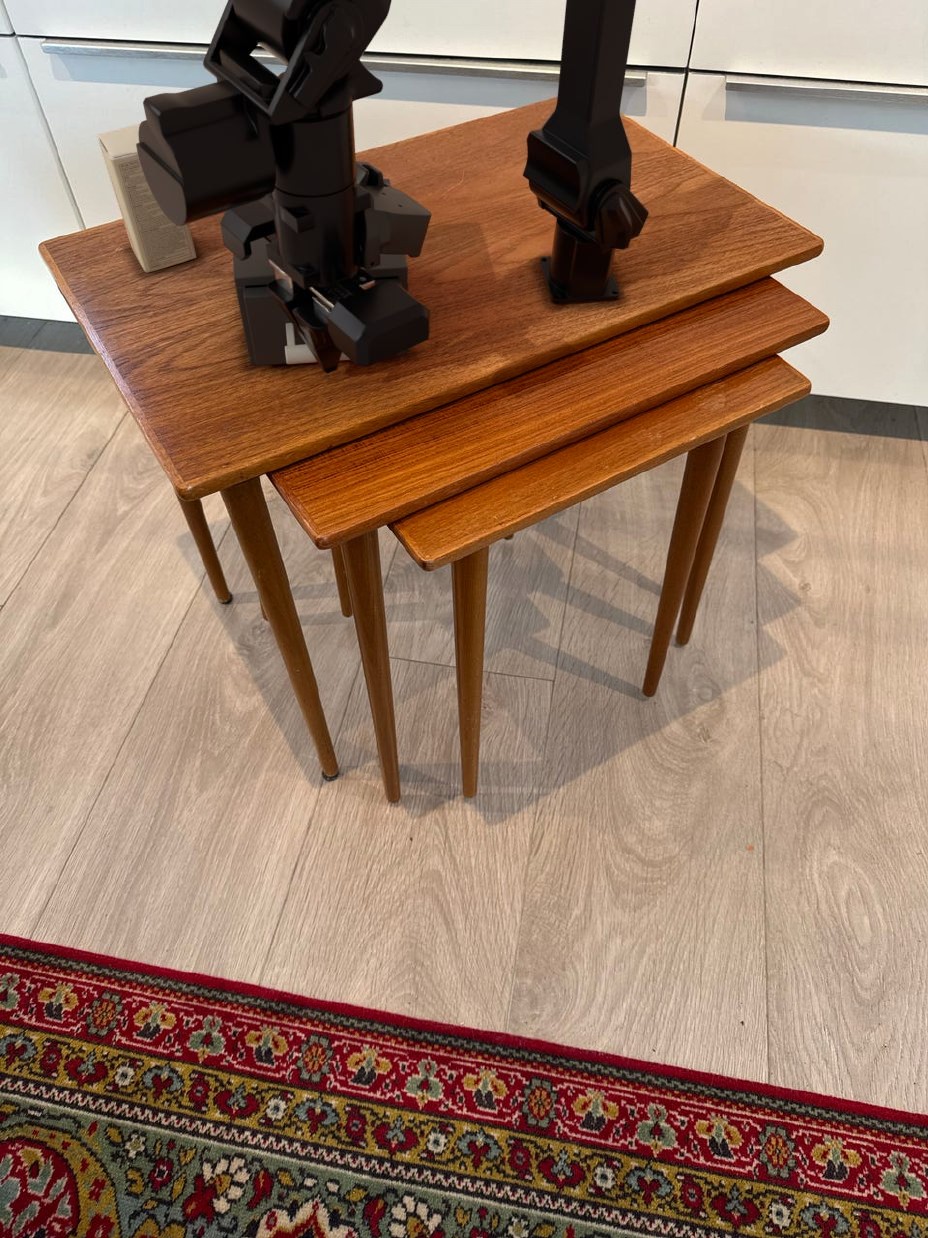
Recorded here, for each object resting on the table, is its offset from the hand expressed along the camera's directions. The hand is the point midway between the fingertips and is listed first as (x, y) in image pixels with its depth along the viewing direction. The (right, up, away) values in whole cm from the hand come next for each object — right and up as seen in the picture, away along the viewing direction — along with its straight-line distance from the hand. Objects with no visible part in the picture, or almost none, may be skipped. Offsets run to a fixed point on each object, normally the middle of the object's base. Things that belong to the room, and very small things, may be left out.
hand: (330, 370), depth 72 cm
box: (-18, +15, +14) cm, 27 cm away
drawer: (-1, +5, +7) cm, 9 cm away
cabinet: (-2, +8, +10) cm, 13 cm away
